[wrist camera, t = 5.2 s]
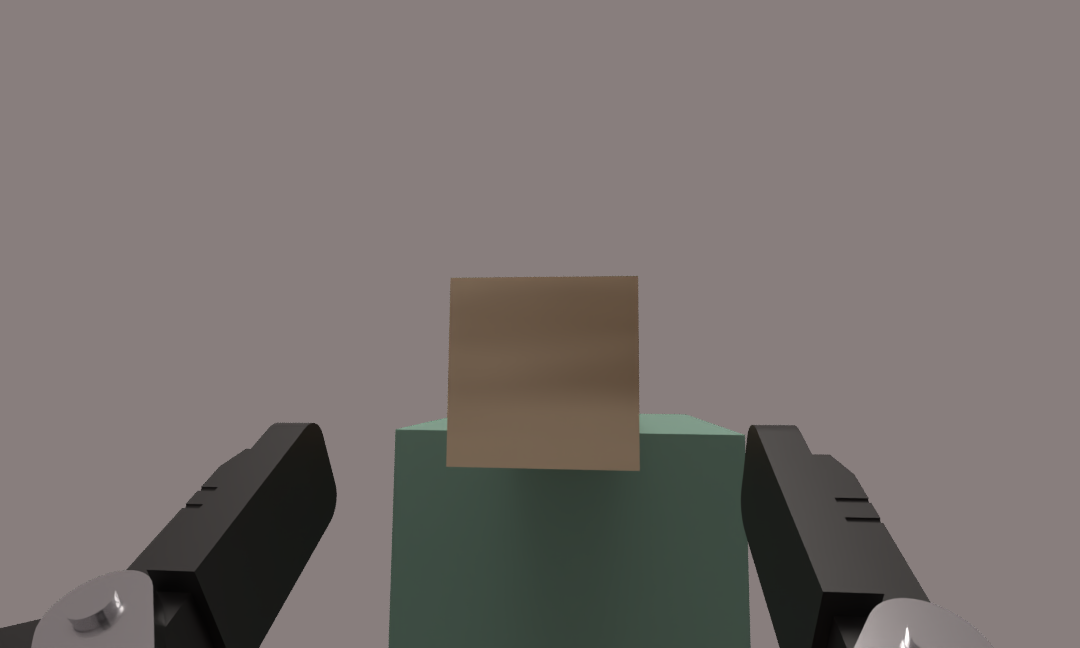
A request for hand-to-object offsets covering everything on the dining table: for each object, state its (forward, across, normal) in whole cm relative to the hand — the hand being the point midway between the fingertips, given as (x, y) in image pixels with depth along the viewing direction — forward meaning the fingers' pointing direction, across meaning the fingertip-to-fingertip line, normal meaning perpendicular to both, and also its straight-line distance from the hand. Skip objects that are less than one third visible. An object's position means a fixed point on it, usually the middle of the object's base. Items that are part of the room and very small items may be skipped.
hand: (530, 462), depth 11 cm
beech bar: (+8, 0, -5) cm, 9 cm away
